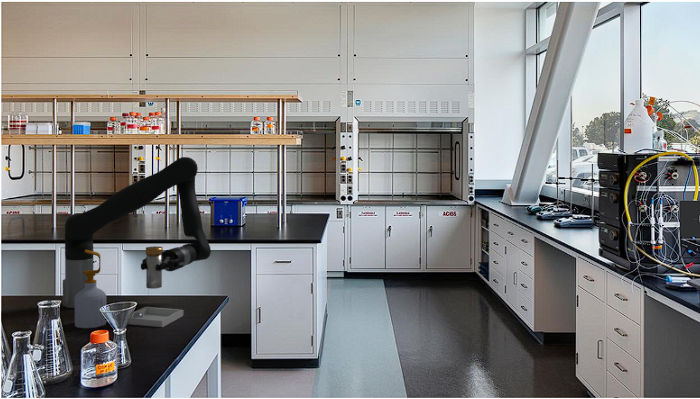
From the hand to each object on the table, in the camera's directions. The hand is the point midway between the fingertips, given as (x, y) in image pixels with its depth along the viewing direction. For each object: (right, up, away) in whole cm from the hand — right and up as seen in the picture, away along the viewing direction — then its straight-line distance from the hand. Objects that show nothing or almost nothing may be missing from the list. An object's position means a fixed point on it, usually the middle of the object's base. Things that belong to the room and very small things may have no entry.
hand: (150, 267), depth 185 cm
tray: (0, -19, +4) cm, 19 cm away
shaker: (0, -7, +3) cm, 7 cm away
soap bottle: (-18, -19, -3) cm, 26 cm away
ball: (-4, -18, +1) cm, 18 cm away
